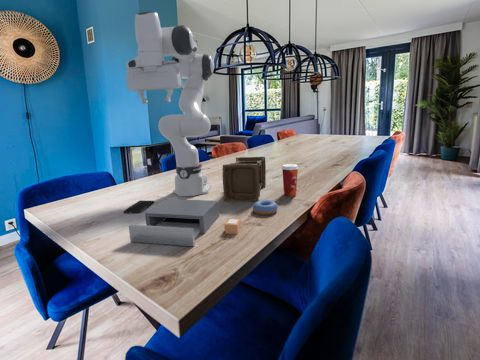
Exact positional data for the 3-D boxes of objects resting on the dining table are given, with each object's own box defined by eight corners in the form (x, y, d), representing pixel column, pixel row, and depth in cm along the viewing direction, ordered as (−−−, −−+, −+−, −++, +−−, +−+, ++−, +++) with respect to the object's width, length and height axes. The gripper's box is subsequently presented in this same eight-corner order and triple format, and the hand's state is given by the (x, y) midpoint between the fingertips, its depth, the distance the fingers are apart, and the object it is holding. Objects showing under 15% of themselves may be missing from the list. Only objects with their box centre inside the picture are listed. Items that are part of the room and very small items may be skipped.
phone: (155, 200, 136) (139, 212, 122) (155, 202, 136) (139, 214, 122) (139, 200, 137) (122, 211, 123) (139, 202, 138) (122, 214, 123)
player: (168, 214, 120) (166, 198, 118) (219, 216, 115) (218, 200, 113) (147, 230, 105) (144, 213, 103) (204, 233, 100) (203, 215, 98)
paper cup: (297, 197, 134) (297, 167, 130) (280, 196, 136) (280, 166, 133) (299, 192, 141) (299, 163, 137) (283, 191, 143) (283, 163, 140)
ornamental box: (241, 186, 166) (236, 154, 163) (272, 182, 162) (267, 149, 158) (225, 205, 133) (217, 165, 130) (263, 201, 129) (256, 160, 125)
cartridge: (228, 227, 104) (228, 218, 103) (241, 228, 103) (240, 218, 102) (224, 233, 99) (224, 223, 98) (237, 234, 98) (237, 224, 97)
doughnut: (275, 216, 112) (275, 204, 111) (250, 216, 114) (249, 204, 114) (279, 209, 121) (279, 198, 120) (256, 209, 124) (255, 199, 123)
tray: (155, 223, 110) (153, 209, 109) (210, 226, 105) (209, 211, 104) (130, 242, 96) (128, 225, 94) (193, 246, 90) (191, 229, 89)
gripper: (182, 61, 103) (186, 101, 107) (132, 65, 109) (137, 104, 112) (174, 58, 98) (178, 101, 101) (121, 63, 103) (127, 104, 106)
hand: (156, 102), depth 106 cm, fingers open, 8 cm apart
